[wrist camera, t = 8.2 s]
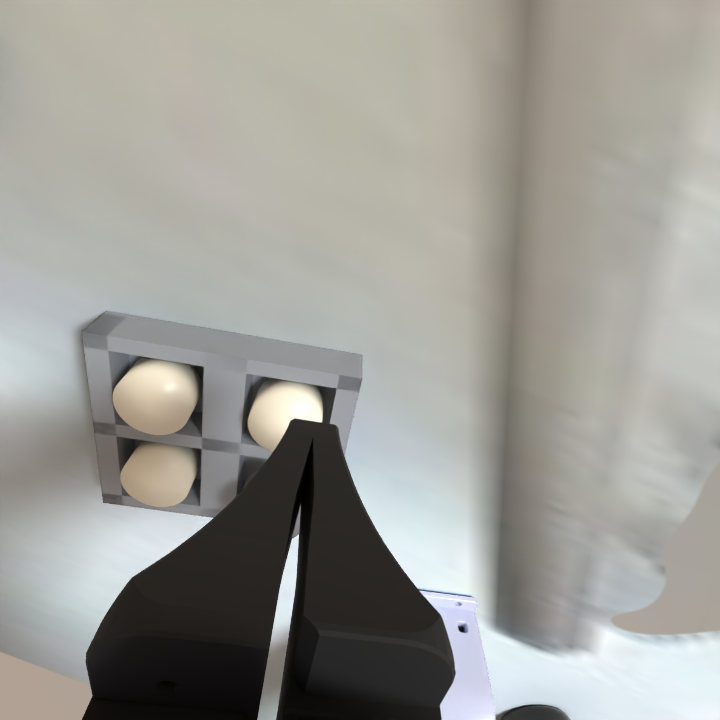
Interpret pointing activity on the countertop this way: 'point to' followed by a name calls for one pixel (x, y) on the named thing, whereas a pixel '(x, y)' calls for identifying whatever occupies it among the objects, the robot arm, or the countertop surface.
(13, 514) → the countertop surface
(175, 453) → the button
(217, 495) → the button board
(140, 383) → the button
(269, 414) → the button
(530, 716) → the supplement bottle
